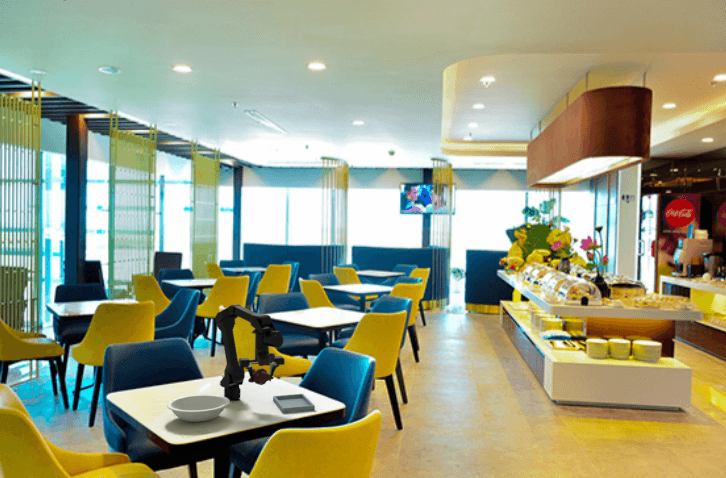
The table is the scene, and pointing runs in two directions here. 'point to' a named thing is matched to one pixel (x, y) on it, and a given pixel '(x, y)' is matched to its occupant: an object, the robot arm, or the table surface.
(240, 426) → the table surface
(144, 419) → the table surface
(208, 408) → the soup bowl
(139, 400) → the table surface
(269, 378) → the icecream
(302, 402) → the tray
